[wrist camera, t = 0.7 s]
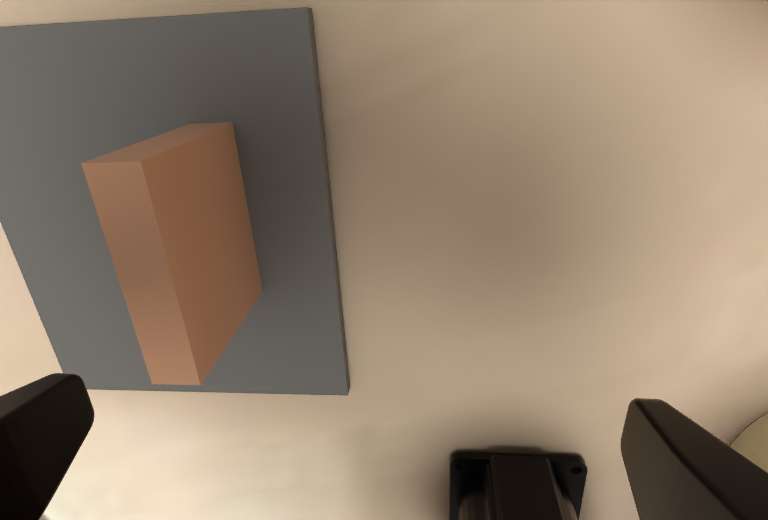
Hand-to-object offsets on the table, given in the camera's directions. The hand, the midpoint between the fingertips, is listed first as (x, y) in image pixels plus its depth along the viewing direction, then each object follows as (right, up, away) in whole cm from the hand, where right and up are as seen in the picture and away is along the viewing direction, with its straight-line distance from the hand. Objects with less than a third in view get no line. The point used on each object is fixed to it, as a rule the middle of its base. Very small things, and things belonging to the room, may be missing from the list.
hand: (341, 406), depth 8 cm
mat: (-8, +4, +12) cm, 15 cm away
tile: (-5, +4, +11) cm, 13 cm away
